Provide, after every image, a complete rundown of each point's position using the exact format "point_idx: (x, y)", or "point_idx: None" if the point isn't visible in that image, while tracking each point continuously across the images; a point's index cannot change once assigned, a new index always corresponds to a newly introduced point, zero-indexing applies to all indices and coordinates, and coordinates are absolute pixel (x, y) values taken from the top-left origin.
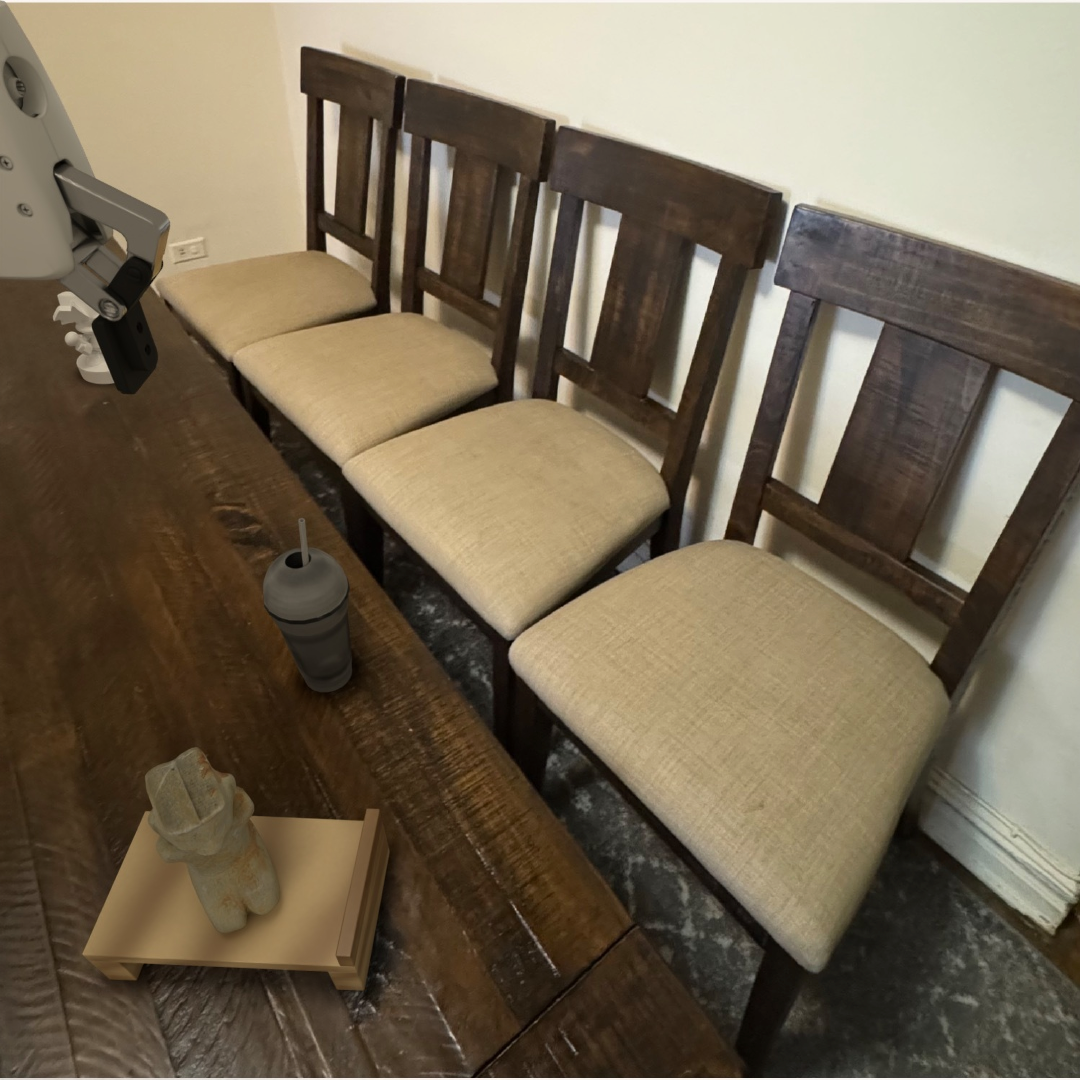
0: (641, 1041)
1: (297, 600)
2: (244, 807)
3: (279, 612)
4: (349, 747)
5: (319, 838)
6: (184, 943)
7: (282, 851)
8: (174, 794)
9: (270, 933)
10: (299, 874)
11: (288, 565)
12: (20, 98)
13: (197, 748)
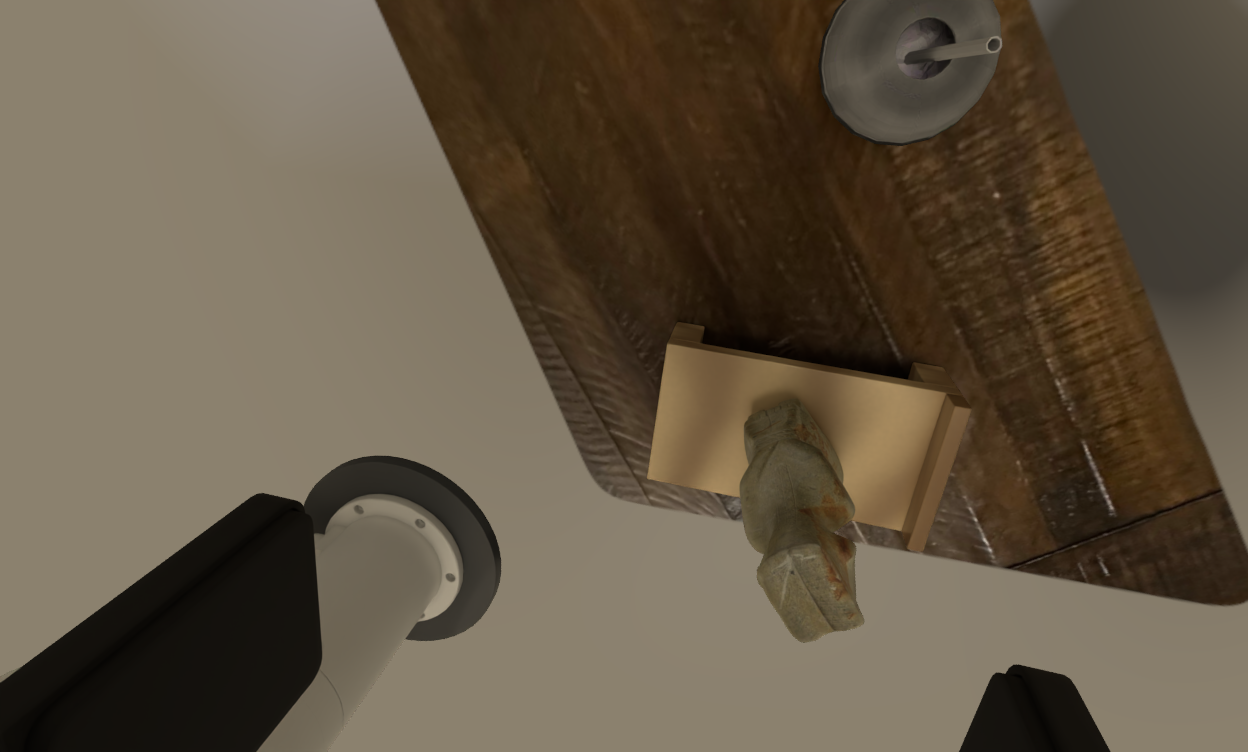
0: (1180, 579)
1: (906, 131)
2: (848, 521)
3: (860, 131)
4: (899, 217)
5: (880, 405)
6: None
7: (836, 412)
8: (802, 608)
9: None
10: (857, 440)
11: None
12: None
13: (820, 552)
